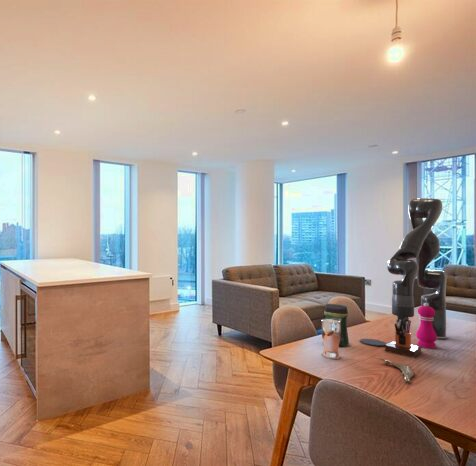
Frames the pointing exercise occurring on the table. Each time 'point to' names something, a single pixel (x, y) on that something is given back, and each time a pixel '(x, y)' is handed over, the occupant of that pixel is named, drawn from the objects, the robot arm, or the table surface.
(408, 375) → the jawbone
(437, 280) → the robot arm
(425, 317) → the pepper mill
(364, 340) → the coaster
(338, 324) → the beer glass
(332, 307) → the coffee jar
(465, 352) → the table surface
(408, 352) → the holder
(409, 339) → the orange rectangular block
